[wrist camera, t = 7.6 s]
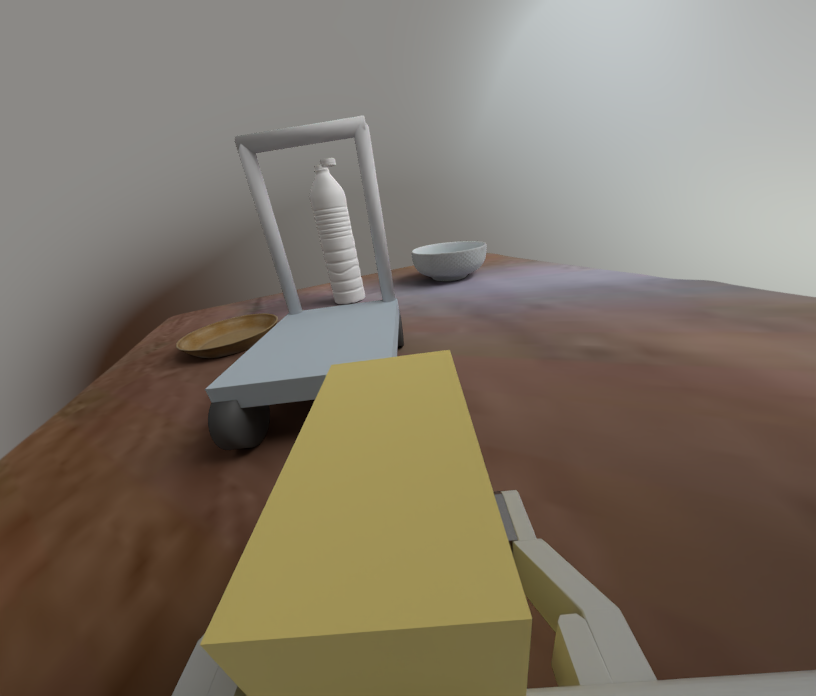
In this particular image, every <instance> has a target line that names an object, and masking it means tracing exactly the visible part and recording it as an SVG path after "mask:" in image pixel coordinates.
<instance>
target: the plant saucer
mask: <svg viewBox="0 0 816 696" xmlns="http://www.w3.org/2000/svg"><path fill="white" fill-rule="evenodd" d="M277 320H278V318H277V316H275V315H273V314H251V315H245V316H239V317H235V318H231V319H227V320H223V321H220V322H216V323H213V324H210V325H208V326H205V327H202V328H200V329H198V330H196V331H193V332H191V333H189V334H187V335H186V336H184V337H183V338H181V339H180V340H179V341H178V342H177V344H176V347H177V348H178V349H179V350H181V351H183V352H185V353H187V354H190V355H193V356H197V357H201V358H217V357H223V356H228V355H232V354H236V353H239V352H242V351H245V350H247V349H250V348H251V347H252V346H253V345H254V344H255V343H257V342H258V341H259V340H260V339H261V338H262V337H263V336H264V335H265V334H266V333H268V332H269V331H270V330H271V329H272V328H273V327H274V326H275V325H276V323H277Z"/></svg>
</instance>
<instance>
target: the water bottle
mask: <svg viewBox="0 0 816 696" xmlns="http://www.w3.org/2000/svg"><path fill="white" fill-rule="evenodd" d="M320 163H321V164H319V165H315V166H314V167H315V171H314V172H315V173H316V176H315V179H314V182H313V185H312V188H311V191H310V202H311V206H312V209H313V211H314V216H315V220H316V224H317V229H318V233H319V238H320V242H321V247H322V250H323V252H324V259H325V262H326V267H327V269H328V275H329V279H330V281H331V287H332V290H333V296H334V300H335V303H337V304H350V303H356V302H359V301H361V300H363V299H364V298H365V292H364V287H363V286H362V285H363V282H362V278H361V276H360V275H361V272H360V268H359V263H358V259H357V252H356V248H355V242H354V238H353V235H352V230H351V229H352V228H351V223H350V218H349V213H348V208H347V202H346V197H345V193H344V191H343V189H342V188H341V186H340V185H339V184H338V183H337V182H336V180H334V178H333V177H332V176H331V175H330V173H329V169H328V167H332V166H335V165H336V163H335V159H334V158H326V159H322V160H320Z"/></svg>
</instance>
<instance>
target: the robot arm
mask: <svg viewBox="0 0 816 696" xmlns="http://www.w3.org/2000/svg"><path fill="white" fill-rule="evenodd" d="M493 493H494V496H495V499H496V502H497V506H498V509H499V512H500V515H501V519H502V522H503V525H504V528H505V532H506V535H507V538H508V541H509V545H510V548H511V551H512V554H513V558H514V561H515V564H516V567H517V571H518V574H519V577H520V580H521V584H522V587H523V590H524V593H525V595H526V596H527V598H528V599H529V600H530V601H531V603H532V604H533V605H534V606H535V608H536V609H537V610H538V611H539V613H540V614H541V615H542V616H543V618H544V619H545V620H546V621H547V623H548V624H549V625H550V626H551V628H552V629H553V630H554V631H555V633H556V637H555V643H554V649H553V655H552V661H551V666H552V669H553V672H554V675H555V679H556V682H557V685H558V687H546V688H531V689H527V691H526V696H816V670H806V671H791V672H775V673H760V674H745V675H729V676H714V677H699V678H684V679H668V680H657V679H656V677H655V675H654V673H653V671H652V669H651V667H650V665H649V663H648V662H647V660H646V658H645V656H644V654H643V652H642V650H641V648H640V647H639V645H638V643H637V641H636V639H635V637H634V635H633V633H632V631H631V630H630V628H629V626H628V624H627V622H626V620H625V618H624V616H623V615H622V613H621V611H620V609H619V608H618V607H617V606H616V605H615V604H614V603H612V602H611V601H610V600H609V599H608V598H607V597H606V596H605V595H604V594H602V593H601V592H600V591H599V590H598V589H597V588H596V587H595V586H594V585H592V584H591V583H590V582H589V581H588V580H587V579H586V578H585V577H584V576H582V575H581V574H580V573H579V572H578V571H577V570H576V569H575V568H574V567H572V566H571V565H570V564H569V563H568V562H567V561H566V560H565V559H564V558H563V557H561V556H560V555H559V554H558V553H557V552H556V551H555V550H554V549H553V548H551V547H550V546H549V545H548V544H547V543H546V542H545V541H544V540H543V539H537V538H536V536H535V533H534V531H533V528H532V526H531V523H530V521H529V518H528V516H527V513H526V511H525V508H524V506H523V503H522V501H521V498H520V495H519V493H518V492H517V491H516V490H510V491H501V492H500V491H496V492H493ZM204 635H205V634H204ZM204 635H203V636H202V637H201V638H200V639H199V641H198V642H197V644H196V646H195V648H194V650H193V652H192V654H191V656H190V659H189V661H188V663H187V665H186V667H185V669H184V671H183V673H182V675H181V677H180V679H179V681H178V683H177V686H176V688H175V690H174V692H173V694H172V696H247V695H246V694H245V693H244V692H243V691H242V690H241V689H240V688H239V687H238V686H237V685H236V684H235V682H234V681H233V680H232V679H231V678H230V677H229V676H228V675H227V674H226V673H225V672H224V671H223V669H222V668H221V667H220V666H219V665H218V664H217V663H216V662H215V661H214V660H213V659H212V658H211V656H210V655H209V654H208V653H207V652H206V651H205V650H204V649H203V648H202V647H201V646H200V643H201V641H202V639H203V637H204Z"/></svg>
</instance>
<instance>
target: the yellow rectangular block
mask: <svg viewBox="0 0 816 696" xmlns="http://www.w3.org/2000/svg"><path fill="white" fill-rule="evenodd" d="M531 629H532V616H531V613H530V610H529V606H528V603H527V600H526V597H525V593H524V590H523V587H522V584H521V580H520V577H519V574H518V571H517V567H516V564H515V561H514V558H513V554H512V551H511V548H510V545H509V541H508V538H507V535H506V532H505V528H504V525H503V522H502V519H501V515H500V512H499V509H498V506H497V502H496V499H495V496H494V493H493V489H492V486H491V483H490V480H489V476H488V473H487V470H486V467H485V463H484V460H483V457H482V454H481V450H480V447H479V444H478V440H477V437H476V434H475V431H474V427H473V424H472V421H471V418H470V414H469V411H468V408H467V405H466V401H465V398H464V395H463V392H462V388H461V385H460V382H459V379H458V375H457V372H456V369H455V366H454V362H453V359H452V356H451V353H450V350H445V351H437V352H429V353H421V354H413V355H405V356H397V357H389V358H381V359H373V360H366V361H358V362H350V363H342V364H334V365H331V367H330V369H329V371H328V373H327V375H326V377H325V380H324V382H323V384H322V386H321V388H320V390H319V392H318V394H317V397H316V399H315V401H314V403H313V405H312V407H311V409H310V411H309V414H308V416H307V418H306V420H305V422H304V424H303V426H302V428H301V431H300V433H299V435H298V437H297V439H296V441H295V443H294V445H293V448H292V450H291V452H290V454H289V456H288V458H287V460H286V462H285V465H284V467H283V469H282V471H281V473H280V475H279V477H278V480H277V482H276V484H275V486H274V488H273V490H272V492H271V494H270V497H269V499H268V501H267V503H266V505H265V507H264V509H263V511H262V514H261V516H260V518H259V520H258V522H257V524H256V526H255V528H254V531H253V533H252V535H251V537H250V539H249V541H248V543H247V545H246V548H245V550H244V552H243V554H242V556H241V558H240V560H239V562H238V565H237V567H236V569H235V571H234V573H233V575H232V577H231V579H230V582H229V584H228V586H227V588H226V590H225V592H224V594H223V596H222V599H221V601H220V603H219V605H218V607H217V609H216V611H215V614H214V616H213V618H212V620H211V622H210V624H209V626H208V628H207V631H206V633H205V635H204V637H203V639H202V641H201V643H200V646H201V647H202V648H203V649H204V650H205V651H206V652H207V653H208V654H209V655H210V656H211V658H212V659H213V660H214V661H215V662H216V663H217V664H218V665H219V666H220V667H221V668H222V669H223V671H224V672H225V673H226V674H227V675H228V676H229V677H230V678H231V679H232V680H233V681H234V682H235V684H236V685H237V686H238V687H239V688H240V689H241V690H242V691H243V692H244V693H245V694H246V695H247V696H526V691H527V679H528V667H529V654H530V642H531Z"/></svg>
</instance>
